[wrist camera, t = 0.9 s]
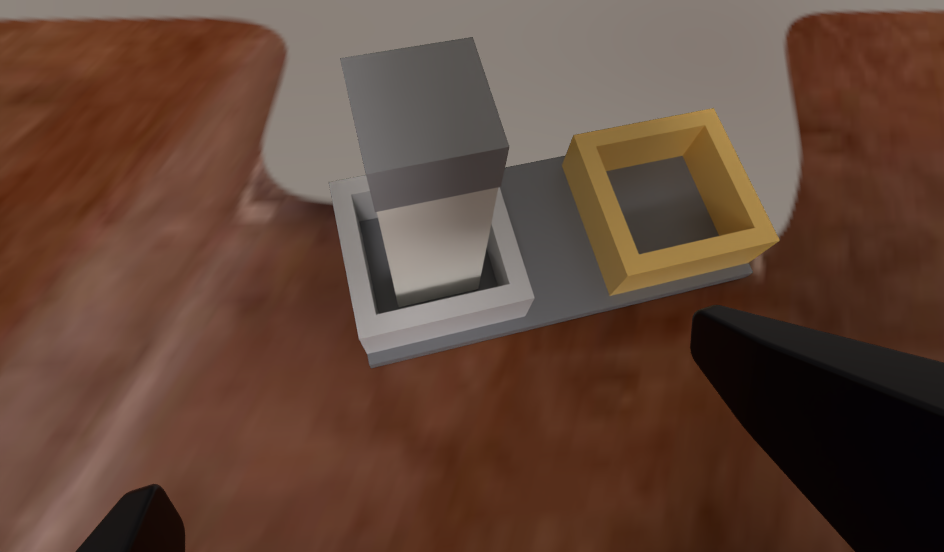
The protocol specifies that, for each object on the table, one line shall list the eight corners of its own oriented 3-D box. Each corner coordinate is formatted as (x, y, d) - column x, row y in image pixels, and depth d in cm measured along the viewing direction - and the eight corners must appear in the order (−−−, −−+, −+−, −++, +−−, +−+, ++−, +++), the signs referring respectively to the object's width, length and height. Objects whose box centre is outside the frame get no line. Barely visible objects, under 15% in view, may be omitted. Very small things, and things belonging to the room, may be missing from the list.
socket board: (681, 138, 28) (709, 99, 26) (746, 277, 26) (785, 250, 23) (339, 206, 26) (326, 172, 23) (371, 368, 23) (361, 351, 20)
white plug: (459, 217, 25) (472, 37, 15) (479, 289, 24) (509, 146, 14) (381, 233, 25) (340, 58, 15) (397, 308, 24) (365, 174, 13)
